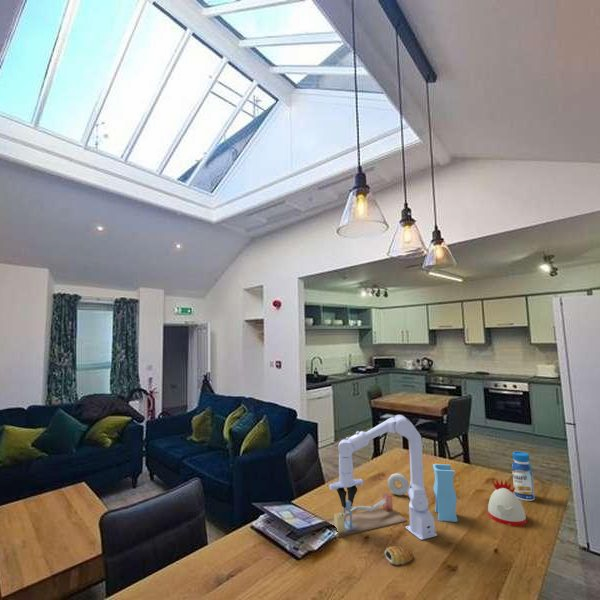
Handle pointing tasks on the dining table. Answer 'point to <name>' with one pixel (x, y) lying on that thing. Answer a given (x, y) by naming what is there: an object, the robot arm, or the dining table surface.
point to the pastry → (398, 555)
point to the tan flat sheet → (371, 521)
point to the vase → (445, 493)
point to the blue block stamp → (348, 524)
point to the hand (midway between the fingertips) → (347, 506)
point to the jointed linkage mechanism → (340, 517)
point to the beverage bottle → (522, 476)
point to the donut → (400, 478)
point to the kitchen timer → (506, 506)
